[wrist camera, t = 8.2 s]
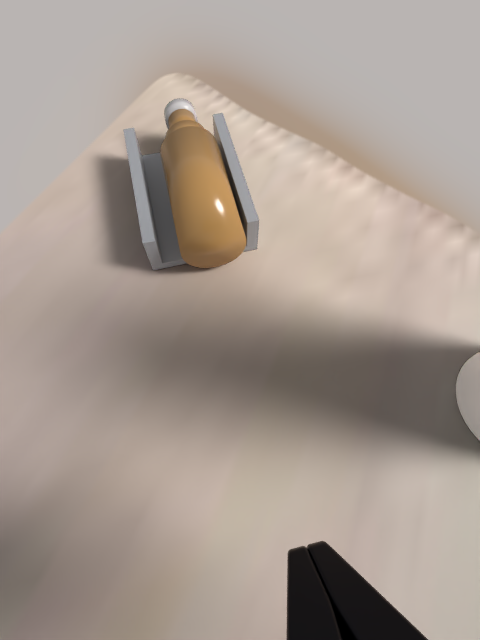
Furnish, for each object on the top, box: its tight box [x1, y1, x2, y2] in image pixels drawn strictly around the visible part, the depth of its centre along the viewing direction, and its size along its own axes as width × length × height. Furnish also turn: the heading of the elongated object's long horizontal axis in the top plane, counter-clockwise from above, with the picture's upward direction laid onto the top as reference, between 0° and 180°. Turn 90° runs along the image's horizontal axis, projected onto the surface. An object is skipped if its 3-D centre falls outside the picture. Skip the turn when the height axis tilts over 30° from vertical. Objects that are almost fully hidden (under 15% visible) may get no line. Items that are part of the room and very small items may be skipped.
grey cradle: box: [123, 113, 259, 270], centre depth 28 cm, size 11×8×3 cm
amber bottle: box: [160, 99, 247, 268], centre depth 27 cm, size 4×4×14 cm
